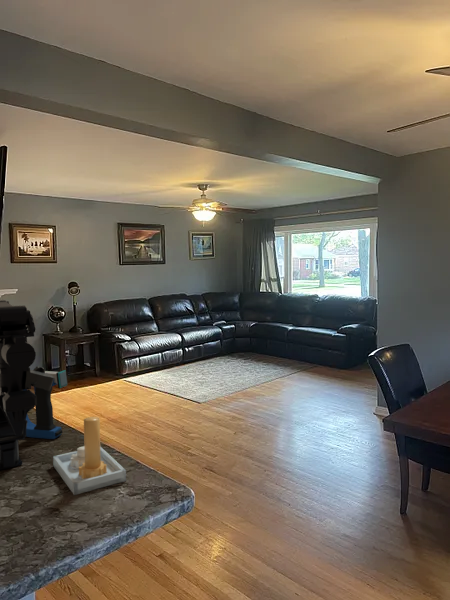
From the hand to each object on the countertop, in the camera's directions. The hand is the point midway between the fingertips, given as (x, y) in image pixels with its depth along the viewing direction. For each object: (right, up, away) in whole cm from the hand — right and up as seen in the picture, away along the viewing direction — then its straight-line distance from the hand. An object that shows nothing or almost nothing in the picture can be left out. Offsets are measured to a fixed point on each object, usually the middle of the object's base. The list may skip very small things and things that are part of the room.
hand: (15, 429), depth 104 cm
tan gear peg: (+16, -11, +4) cm, 20 cm away
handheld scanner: (-7, -11, +32) cm, 35 cm away
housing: (+14, -13, +7) cm, 20 cm away
